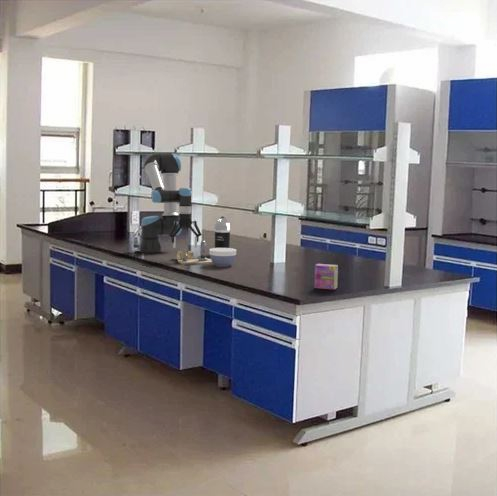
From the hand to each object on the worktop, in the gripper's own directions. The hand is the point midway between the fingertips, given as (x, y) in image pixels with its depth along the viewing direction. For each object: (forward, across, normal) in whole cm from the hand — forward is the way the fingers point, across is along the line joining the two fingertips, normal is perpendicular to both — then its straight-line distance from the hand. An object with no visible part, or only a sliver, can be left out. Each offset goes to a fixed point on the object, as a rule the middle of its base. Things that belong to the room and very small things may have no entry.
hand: (185, 247), depth 437 cm
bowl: (+8, +16, -25) cm, 31 cm away
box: (+10, +45, -103) cm, 113 cm away
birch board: (+8, +4, -11) cm, 14 cm away
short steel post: (+7, -3, -11) cm, 14 cm away
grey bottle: (+8, +29, +16) cm, 34 cm away
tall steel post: (+7, +8, -11) cm, 15 cm away
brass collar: (+8, 0, +1) cm, 8 cm away
